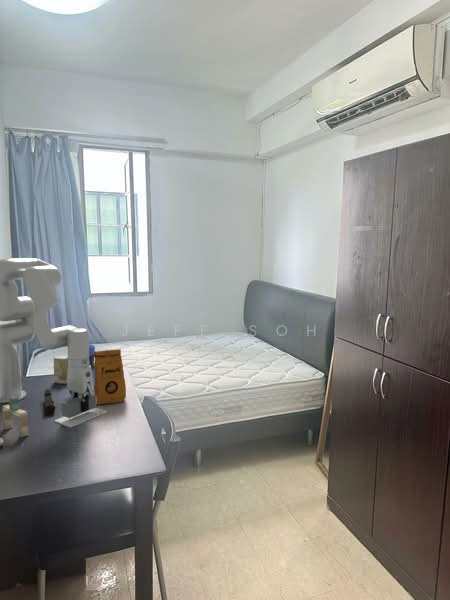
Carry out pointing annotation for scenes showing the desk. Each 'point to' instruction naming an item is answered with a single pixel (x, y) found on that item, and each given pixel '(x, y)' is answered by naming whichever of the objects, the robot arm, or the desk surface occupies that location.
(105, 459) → the desk surface
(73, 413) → the grey block with cap
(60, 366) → the skincare box
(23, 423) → the wooden arch block
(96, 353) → the coffee package
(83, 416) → the mat
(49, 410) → the hand tool
